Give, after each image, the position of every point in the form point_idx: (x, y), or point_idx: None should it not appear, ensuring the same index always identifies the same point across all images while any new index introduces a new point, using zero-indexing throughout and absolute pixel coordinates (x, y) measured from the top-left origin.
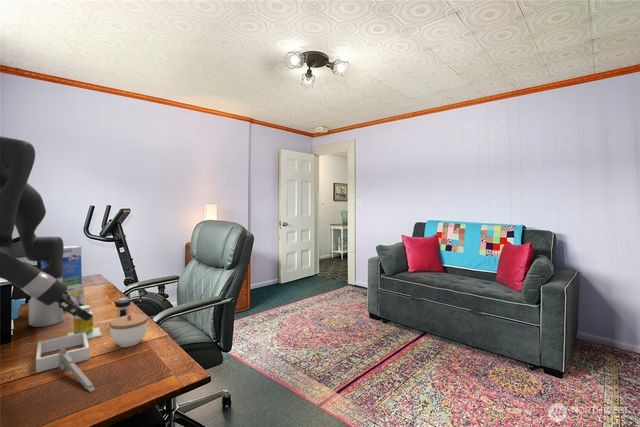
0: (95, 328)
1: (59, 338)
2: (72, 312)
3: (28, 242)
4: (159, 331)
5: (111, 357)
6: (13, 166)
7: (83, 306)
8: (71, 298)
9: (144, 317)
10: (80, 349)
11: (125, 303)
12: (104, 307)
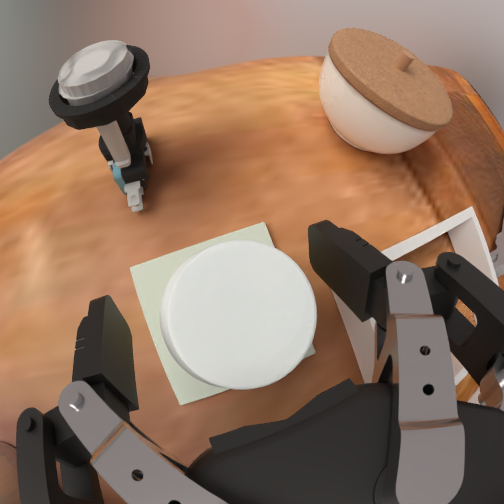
0: (146, 279)
1: None
2: (449, 324)
3: None
4: (275, 59)
5: (438, 167)
6: None
7: (209, 322)
8: (458, 427)
9: (377, 36)
10: (480, 227)
11: (146, 56)
12: None
